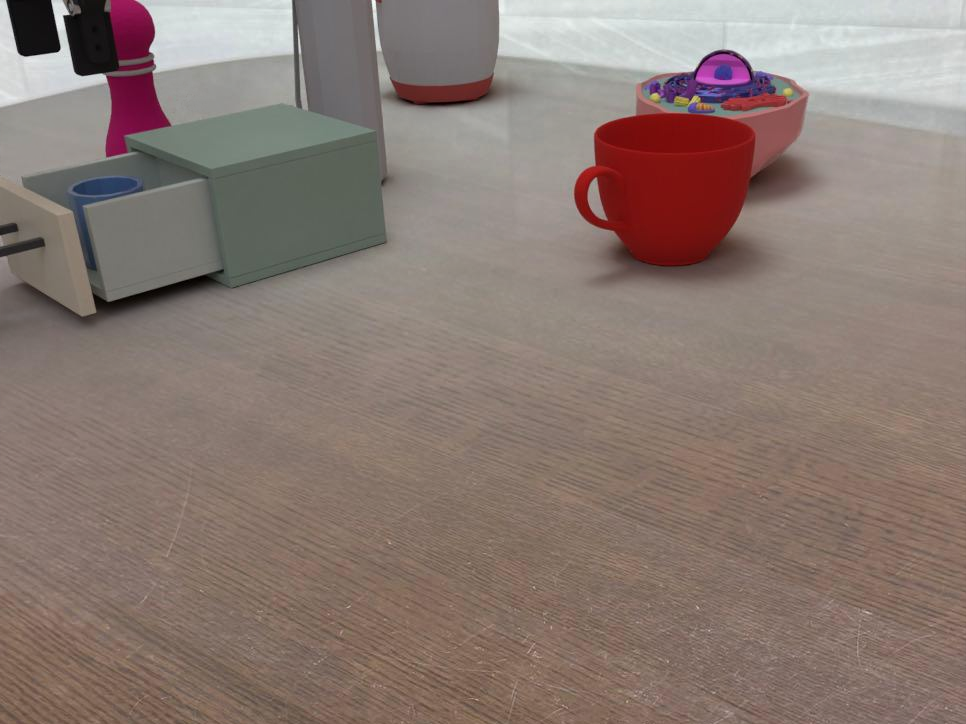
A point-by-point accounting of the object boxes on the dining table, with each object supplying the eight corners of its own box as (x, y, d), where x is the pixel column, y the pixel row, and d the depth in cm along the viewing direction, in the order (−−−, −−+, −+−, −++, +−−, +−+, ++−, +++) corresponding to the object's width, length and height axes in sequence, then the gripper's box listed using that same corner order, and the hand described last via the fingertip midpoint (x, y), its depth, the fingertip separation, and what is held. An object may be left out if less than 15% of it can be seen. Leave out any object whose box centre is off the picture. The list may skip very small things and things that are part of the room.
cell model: (609, 199, 115) (610, 75, 109) (654, 145, 131) (658, 34, 125) (787, 211, 111) (799, 83, 105) (812, 154, 127) (823, 39, 121)
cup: (103, 277, 94) (86, 201, 91) (72, 259, 98) (54, 186, 95) (169, 259, 97) (155, 185, 94) (137, 243, 101) (122, 171, 98)
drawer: (8, 338, 87) (-21, 233, 83) (-59, 291, 96) (-89, 193, 91) (250, 268, 98) (235, 172, 94) (171, 231, 107) (154, 142, 103)
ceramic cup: (526, 263, 101) (523, 141, 95) (669, 218, 110) (673, 105, 104) (634, 305, 92) (636, 174, 87) (779, 253, 101) (790, 131, 96)
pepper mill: (172, 186, 122) (132, -30, 111) (205, 202, 117) (166, -23, 106) (104, 201, 118) (55, -22, 107) (134, 218, 113) (87, -14, 103)
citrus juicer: (364, 86, 159) (347, -84, 148) (494, 78, 161) (487, -90, 150) (372, 114, 146) (354, -70, 135) (513, 105, 148) (507, -77, 137)
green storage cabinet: (231, 288, 97) (211, 168, 92) (146, 246, 106) (123, 135, 101) (386, 242, 106) (376, 130, 101) (296, 207, 115) (282, 103, 110)
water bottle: (403, 175, 123) (380, -100, 110) (363, 196, 117) (333, -91, 104) (328, 166, 127) (296, -101, 113) (285, 187, 121) (246, -93, 107)
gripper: (-92, -209, 83) (-28, 54, 92) (10, -208, 72) (70, 89, 82) (15, -210, 88) (66, 41, 97) (125, -209, 77) (170, 73, 86)
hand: (68, 63), depth 89 cm, fingers open, 9 cm apart
